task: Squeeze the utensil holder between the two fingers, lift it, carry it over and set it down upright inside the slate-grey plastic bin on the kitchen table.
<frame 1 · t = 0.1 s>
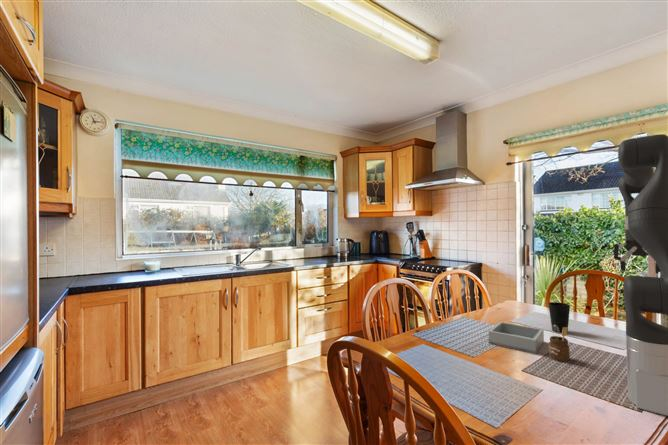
hand: (640, 272, 114), 29 cm above the table, tool pointing down, fingers open, 8 cm apart
utensil holder: (559, 359, 110), on the table
bin: (516, 342, 125), on the table
cup: (559, 331, 137), on the table
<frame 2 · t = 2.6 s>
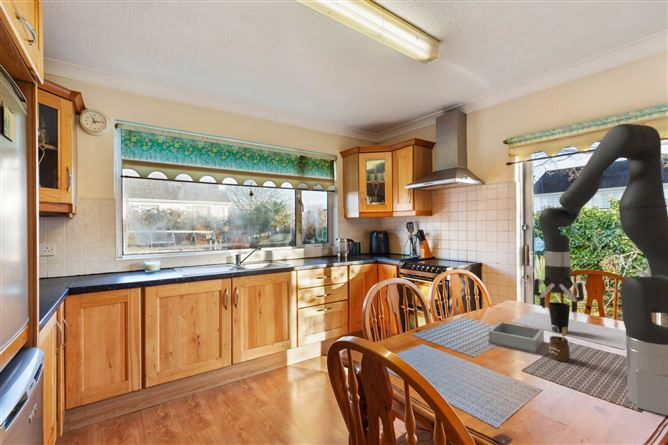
hand: (558, 309, 110), 17 cm above the table, tool pointing down, fingers open, 8 cm apart
nothing on the table moved.
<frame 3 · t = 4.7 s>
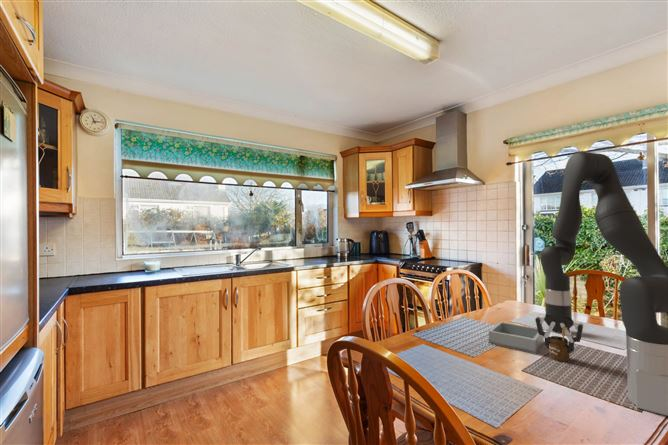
hand: (559, 349, 110), 3 cm above the table, tool pointing down, fingers closed on utensil holder, 5 cm apart
utensil holder: (559, 359, 110), on the table, touching gripper
everything else where it was.
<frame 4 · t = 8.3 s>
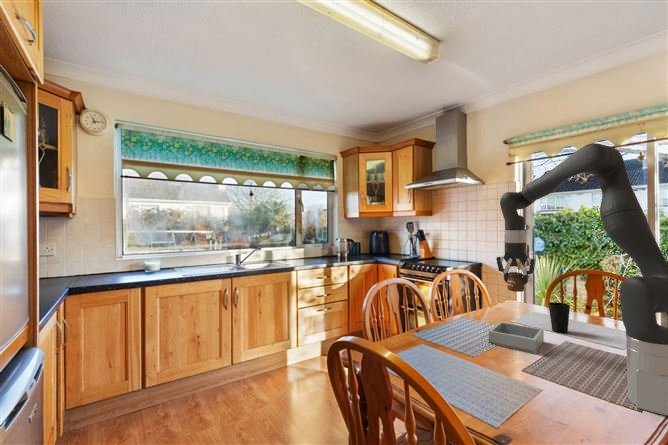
hand: (515, 283, 125), 24 cm above the table, tool pointing down, fingers closed on utensil holder, 5 cm apart
utensil holder: (515, 291, 125), point 21 cm above the table, touching gripper
everything else where it was.
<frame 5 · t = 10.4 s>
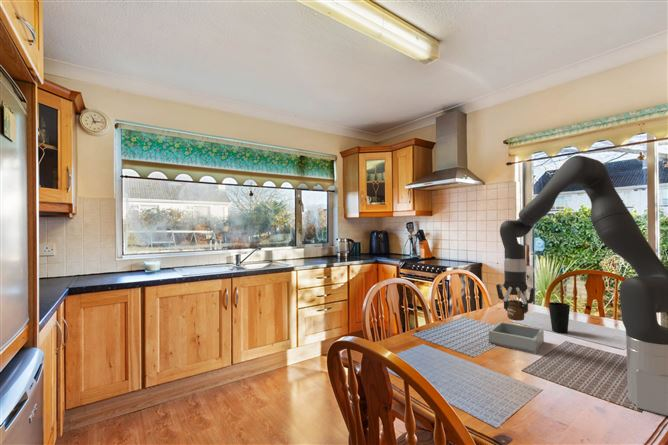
hand: (515, 311, 125), 13 cm above the table, tool pointing down, fingers closed on utensil holder, 5 cm apart
utensil holder: (516, 319, 125), point 9 cm above the table, touching gripper
everything else where it was.
when the fingers open (6 cm above the table, at t = 12.1 s): utensil holder drops 2 cm, resting on bin.
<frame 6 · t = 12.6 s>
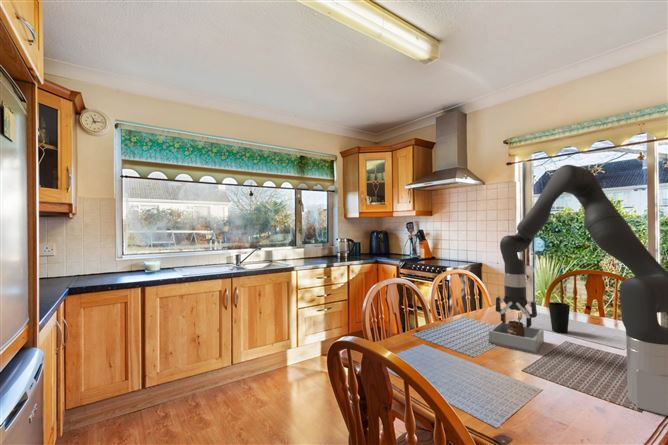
hand: (515, 324, 125), 7 cm above the table, tool pointing down, fingers open, 8 cm apart
utensil holder: (516, 340, 125), point 1 cm above the table, touching bin
everything else where it was.
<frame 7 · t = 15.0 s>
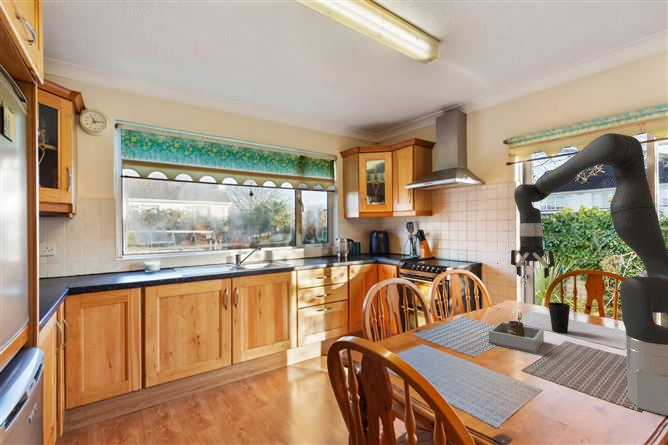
hand: (532, 277, 120), 27 cm above the table, tool pointing down, fingers open, 8 cm apart
nothing on the table moved.
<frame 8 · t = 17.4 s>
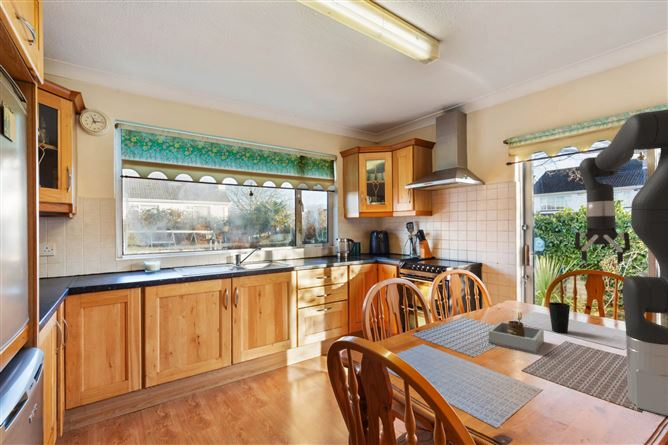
hand: (602, 262, 106), 34 cm above the table, tool pointing down, fingers open, 8 cm apart
nothing on the table moved.
at the end: utensil holder inside the target area on the bin (0.0 cm from its centre), point 0.8 cm above the bin's base; utensil holder tilted 0°; the gripper is holding nothing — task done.
